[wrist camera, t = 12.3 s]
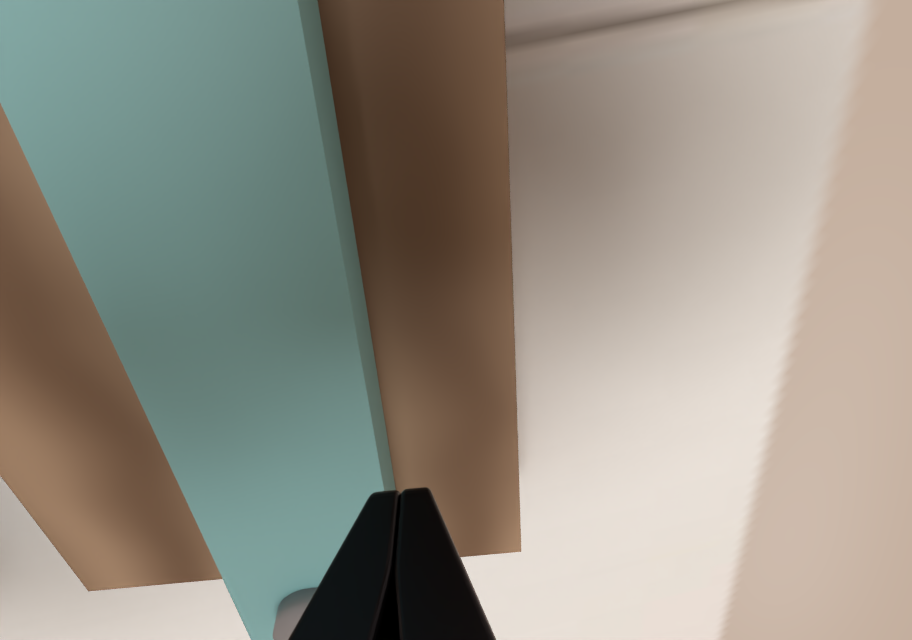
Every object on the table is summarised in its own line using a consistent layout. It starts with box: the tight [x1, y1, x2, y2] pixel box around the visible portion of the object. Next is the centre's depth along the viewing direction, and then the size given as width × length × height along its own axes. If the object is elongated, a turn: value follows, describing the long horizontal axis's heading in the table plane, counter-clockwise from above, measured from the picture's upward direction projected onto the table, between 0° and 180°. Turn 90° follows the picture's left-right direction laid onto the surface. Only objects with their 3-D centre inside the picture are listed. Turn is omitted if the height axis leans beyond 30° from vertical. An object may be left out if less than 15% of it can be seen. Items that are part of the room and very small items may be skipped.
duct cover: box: [0, 0, 396, 640], centre depth 14 cm, size 6×25×3 cm, turn 3°
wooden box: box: [0, 0, 521, 591], centre depth 17 cm, size 16×24×4 cm
